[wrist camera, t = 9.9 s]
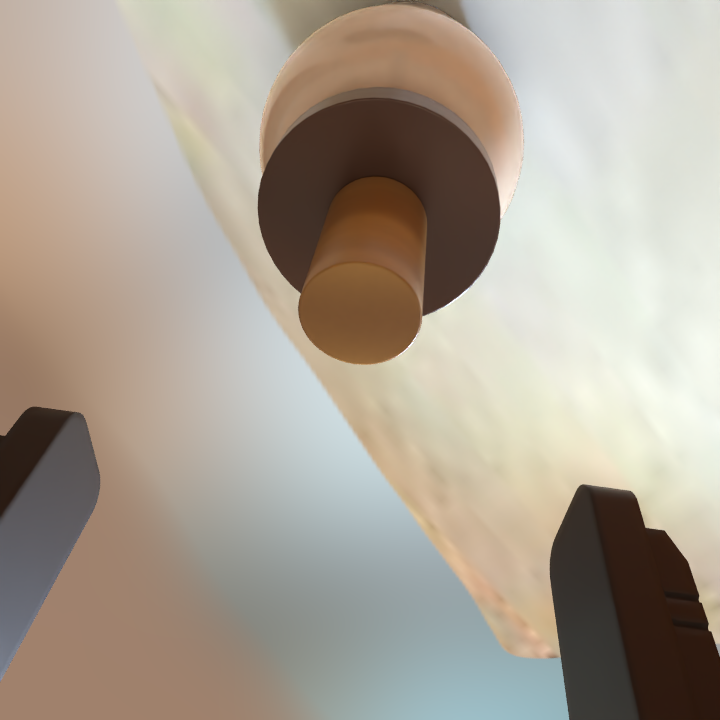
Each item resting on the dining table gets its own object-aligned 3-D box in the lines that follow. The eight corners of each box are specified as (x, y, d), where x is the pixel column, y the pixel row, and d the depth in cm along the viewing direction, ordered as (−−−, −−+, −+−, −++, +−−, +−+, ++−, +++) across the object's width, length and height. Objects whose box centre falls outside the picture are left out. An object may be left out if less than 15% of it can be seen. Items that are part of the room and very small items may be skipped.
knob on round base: (263, 72, 17) (198, 150, 12) (523, 102, 16) (551, 193, 12) (266, 291, 21) (219, 407, 17) (473, 317, 21) (480, 442, 16)
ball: (289, -30, 23) (219, 19, 16) (538, -2, 23) (578, 60, 16) (286, 202, 29) (234, 314, 22) (487, 227, 28) (499, 349, 21)
